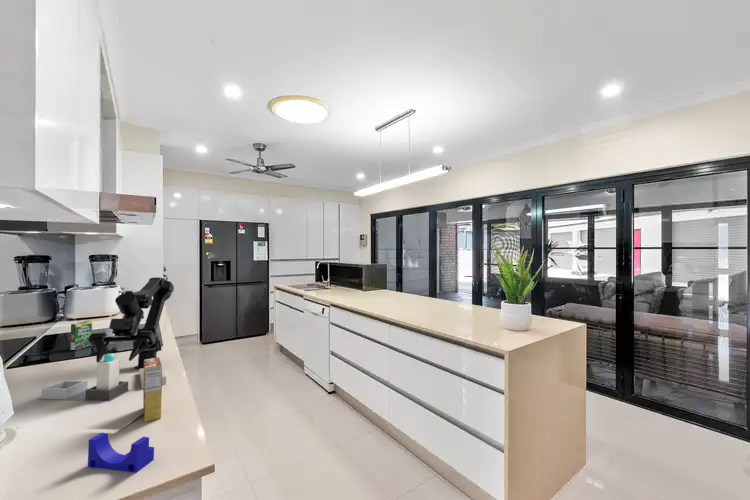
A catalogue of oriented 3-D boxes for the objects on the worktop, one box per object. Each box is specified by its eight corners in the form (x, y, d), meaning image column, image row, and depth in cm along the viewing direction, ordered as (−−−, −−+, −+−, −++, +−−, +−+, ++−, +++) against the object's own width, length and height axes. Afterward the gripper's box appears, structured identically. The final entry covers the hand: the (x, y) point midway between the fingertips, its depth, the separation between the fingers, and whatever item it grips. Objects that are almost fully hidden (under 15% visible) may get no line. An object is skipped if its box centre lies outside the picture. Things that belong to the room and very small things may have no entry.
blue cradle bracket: (153, 460, 74) (154, 433, 74) (136, 473, 69) (137, 444, 69) (107, 455, 75) (108, 429, 75) (87, 467, 71) (88, 439, 71)
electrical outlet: (161, 362, 129) (166, 376, 115) (161, 373, 129) (166, 387, 115) (139, 366, 125) (141, 380, 111) (139, 377, 125) (141, 392, 110)
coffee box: (74, 351, 155) (75, 323, 155) (69, 351, 155) (70, 323, 155) (92, 347, 162) (93, 320, 163) (87, 346, 163) (88, 320, 163)
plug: (106, 392, 107) (108, 352, 108) (118, 392, 107) (119, 352, 108) (96, 397, 103) (97, 356, 104) (108, 397, 103) (109, 356, 104)
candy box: (141, 410, 97) (143, 359, 97) (159, 407, 99) (160, 356, 100) (142, 423, 90) (144, 367, 90) (161, 418, 92) (163, 364, 93)
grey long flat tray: (64, 390, 110) (65, 379, 110) (131, 392, 110) (132, 380, 110) (36, 402, 101) (37, 389, 101) (109, 404, 101) (109, 391, 101)
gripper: (92, 309, 112) (70, 350, 101) (153, 308, 117) (139, 347, 106) (103, 327, 120) (84, 367, 108) (161, 325, 124) (148, 363, 113)
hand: (113, 361), depth 109 cm, fingers open, 9 cm apart
